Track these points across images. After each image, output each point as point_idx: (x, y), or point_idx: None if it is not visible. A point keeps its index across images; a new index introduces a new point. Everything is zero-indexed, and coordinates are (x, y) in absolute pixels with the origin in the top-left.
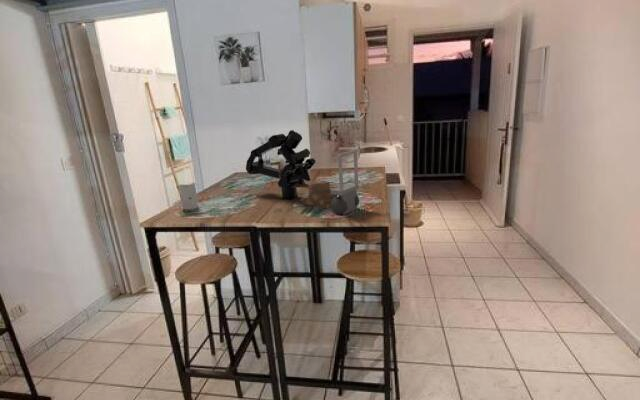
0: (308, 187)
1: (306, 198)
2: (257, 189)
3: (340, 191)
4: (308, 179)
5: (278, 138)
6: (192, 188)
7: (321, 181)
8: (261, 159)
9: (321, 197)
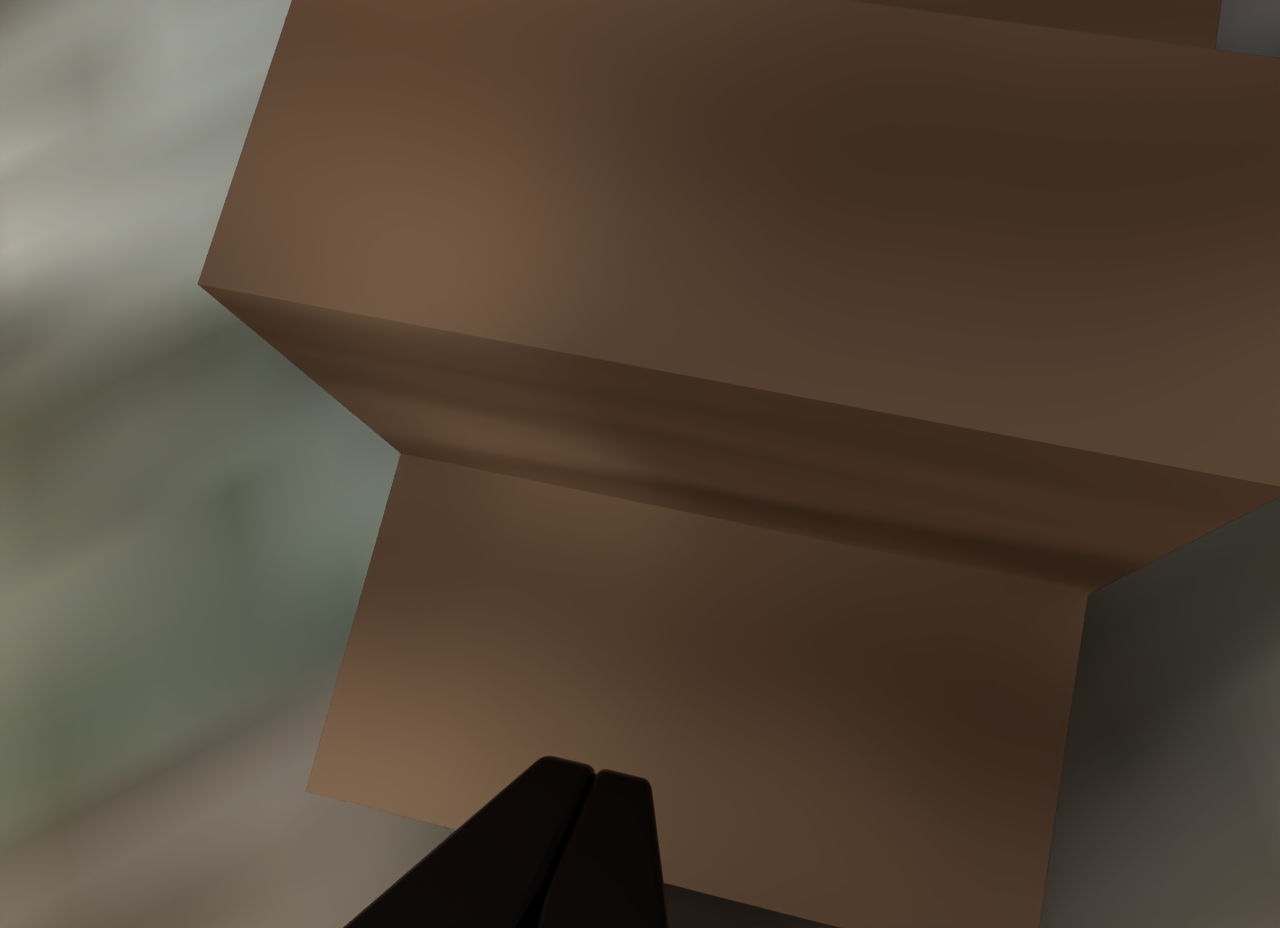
0: (1261, 503)
1: (957, 790)
2: None
3: None
4: (654, 826)
5: None
6: None
7: (278, 300)
8: None
9: (1207, 45)
